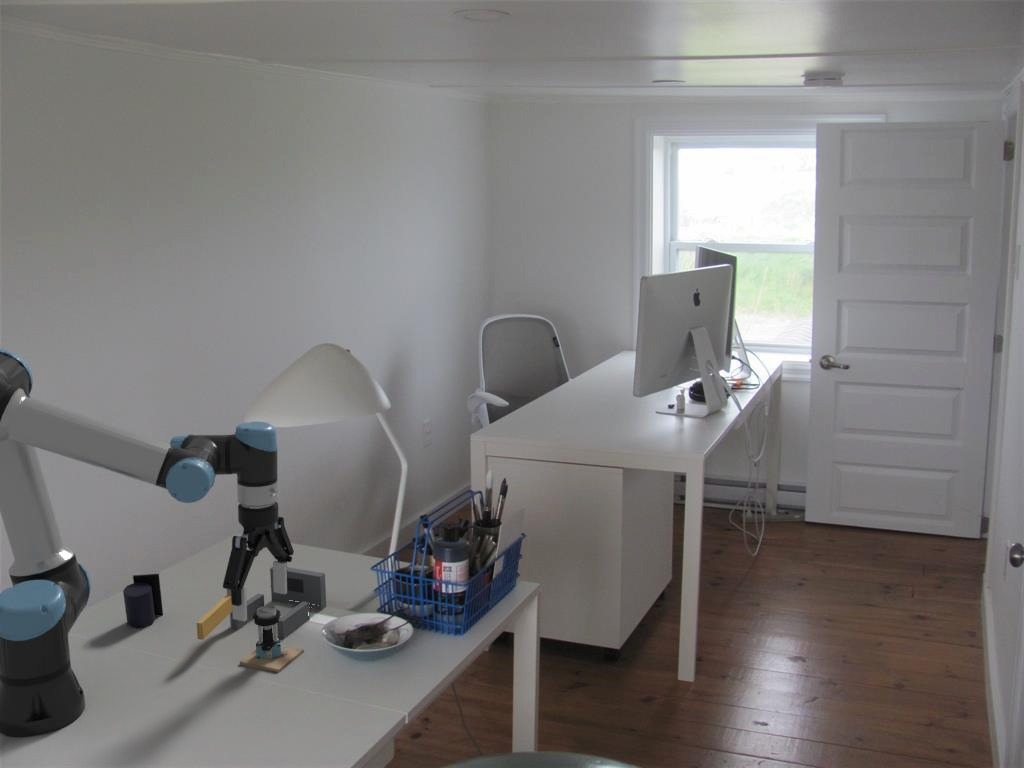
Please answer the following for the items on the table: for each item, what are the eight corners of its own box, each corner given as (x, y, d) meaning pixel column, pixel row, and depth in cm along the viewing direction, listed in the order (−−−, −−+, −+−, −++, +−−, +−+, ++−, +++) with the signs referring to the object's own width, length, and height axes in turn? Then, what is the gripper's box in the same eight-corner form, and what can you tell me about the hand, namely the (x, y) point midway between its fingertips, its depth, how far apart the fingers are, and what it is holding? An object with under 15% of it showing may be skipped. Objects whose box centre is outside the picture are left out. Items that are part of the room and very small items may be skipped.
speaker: (139, 611, 224) (135, 569, 221) (163, 614, 223) (160, 572, 220) (121, 629, 217) (117, 587, 213) (146, 633, 216) (142, 590, 213)
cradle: (283, 639, 211) (282, 603, 210) (228, 628, 216) (226, 593, 214) (326, 606, 227) (325, 573, 225) (273, 597, 232) (272, 564, 230)
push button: (287, 647, 207) (285, 601, 205) (290, 658, 202) (288, 612, 200) (254, 651, 205) (251, 605, 203) (256, 663, 200) (253, 616, 198)
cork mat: (278, 672, 198) (278, 669, 197) (239, 664, 201) (239, 661, 201) (303, 652, 206) (303, 649, 206) (266, 644, 209) (265, 642, 209)
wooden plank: (230, 605, 217) (229, 583, 216) (240, 605, 217) (239, 584, 216) (195, 639, 202) (193, 615, 201) (205, 639, 201) (204, 616, 200)
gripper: (235, 525, 182) (238, 635, 186) (309, 487, 204) (311, 585, 209) (200, 519, 184) (204, 627, 189) (278, 482, 207) (280, 579, 211)
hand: (260, 605), depth 199 cm, fingers open, 13 cm apart
